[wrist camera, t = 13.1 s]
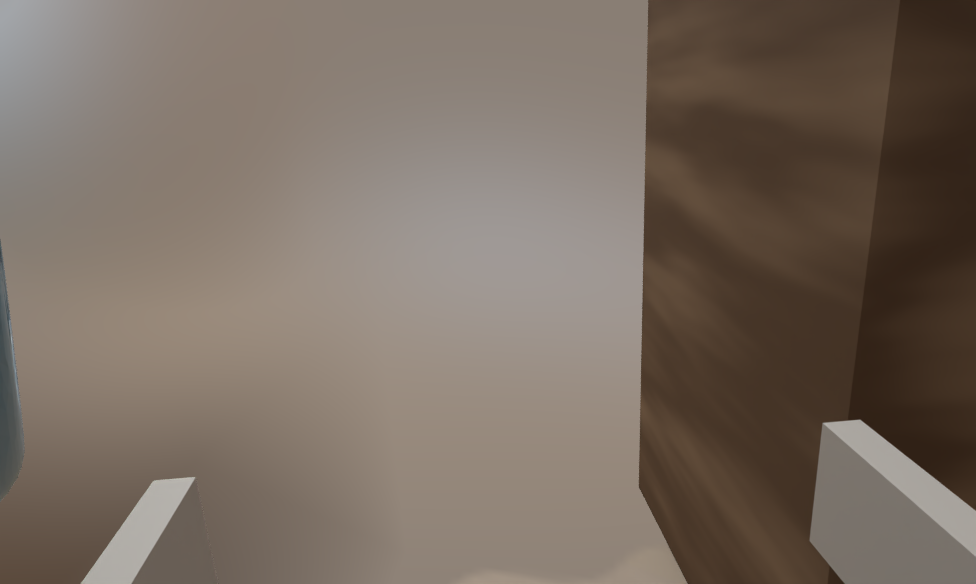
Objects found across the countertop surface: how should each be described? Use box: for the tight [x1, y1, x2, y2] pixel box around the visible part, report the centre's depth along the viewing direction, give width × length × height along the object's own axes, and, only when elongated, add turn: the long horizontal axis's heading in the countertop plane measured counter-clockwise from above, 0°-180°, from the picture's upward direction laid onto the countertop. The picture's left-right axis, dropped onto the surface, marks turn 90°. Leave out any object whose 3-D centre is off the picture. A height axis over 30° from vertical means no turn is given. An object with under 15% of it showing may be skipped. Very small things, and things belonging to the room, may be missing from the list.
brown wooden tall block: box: [639, 0, 976, 584], centre depth 22 cm, size 16×16×34 cm
